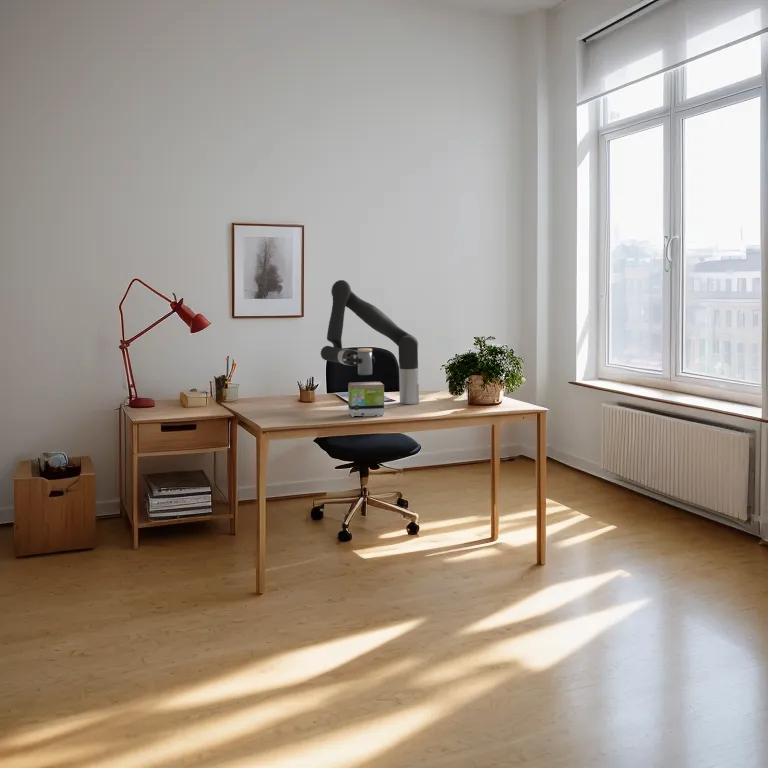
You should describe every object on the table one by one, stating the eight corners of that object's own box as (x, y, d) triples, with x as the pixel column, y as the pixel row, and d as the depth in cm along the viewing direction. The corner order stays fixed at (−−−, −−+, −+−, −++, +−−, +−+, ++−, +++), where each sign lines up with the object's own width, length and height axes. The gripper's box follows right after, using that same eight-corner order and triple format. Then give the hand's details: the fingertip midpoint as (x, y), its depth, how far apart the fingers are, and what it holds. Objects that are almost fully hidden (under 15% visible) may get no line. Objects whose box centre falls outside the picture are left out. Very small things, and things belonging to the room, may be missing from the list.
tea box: (351, 418, 359) (351, 385, 357) (348, 414, 369) (347, 382, 367) (384, 416, 362) (384, 383, 360) (380, 412, 372) (379, 380, 370)
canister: (372, 373, 366) (372, 348, 364) (372, 374, 360) (372, 349, 358) (357, 373, 366) (357, 348, 364) (357, 375, 359) (357, 349, 358)
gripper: (335, 350, 369) (353, 353, 355) (362, 348, 377) (381, 351, 363) (335, 366, 370) (354, 370, 357) (362, 364, 378) (381, 367, 364)
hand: (367, 360), depth 360 cm, fingers closed on canister, 6 cm apart
